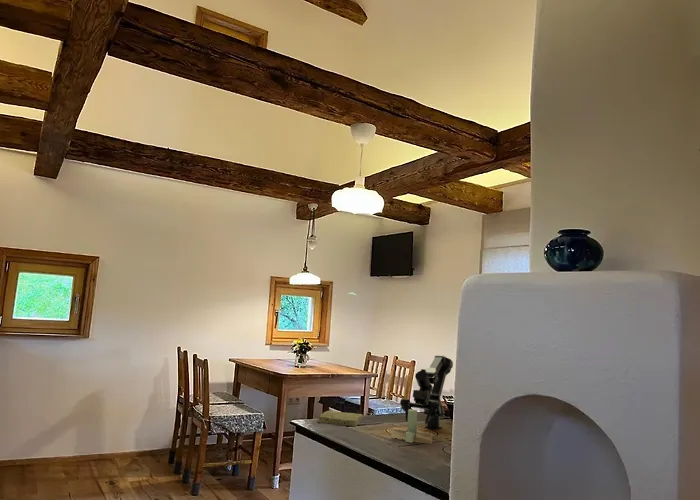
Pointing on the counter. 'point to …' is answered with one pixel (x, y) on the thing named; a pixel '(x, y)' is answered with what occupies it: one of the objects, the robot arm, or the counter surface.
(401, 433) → the birch slotted plate
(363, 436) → the counter surface
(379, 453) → the counter surface
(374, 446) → the counter surface
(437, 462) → the counter surface
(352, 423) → the decorative tile
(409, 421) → the green joystick knob
